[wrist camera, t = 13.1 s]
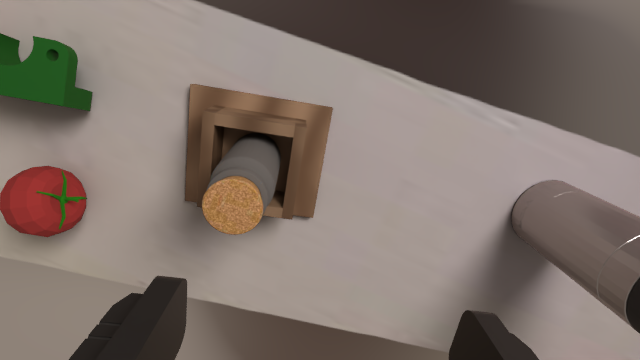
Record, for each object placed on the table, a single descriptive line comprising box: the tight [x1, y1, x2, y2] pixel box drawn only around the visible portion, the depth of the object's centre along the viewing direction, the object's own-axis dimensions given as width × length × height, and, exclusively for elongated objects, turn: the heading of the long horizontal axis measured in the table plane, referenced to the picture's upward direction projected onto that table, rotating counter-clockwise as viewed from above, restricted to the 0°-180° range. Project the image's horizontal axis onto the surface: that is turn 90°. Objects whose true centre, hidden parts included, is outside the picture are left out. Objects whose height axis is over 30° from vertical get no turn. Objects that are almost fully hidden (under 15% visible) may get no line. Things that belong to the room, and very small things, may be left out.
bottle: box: [202, 133, 281, 235], centre depth 33 cm, size 6×6×15 cm
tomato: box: [0, 166, 87, 237], centre depth 38 cm, size 8×8×8 cm
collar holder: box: [185, 84, 333, 219], centre depth 38 cm, size 16×14×6 cm
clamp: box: [0, 33, 92, 111], centre depth 34 cm, size 12×6×9 cm, turn 73°
